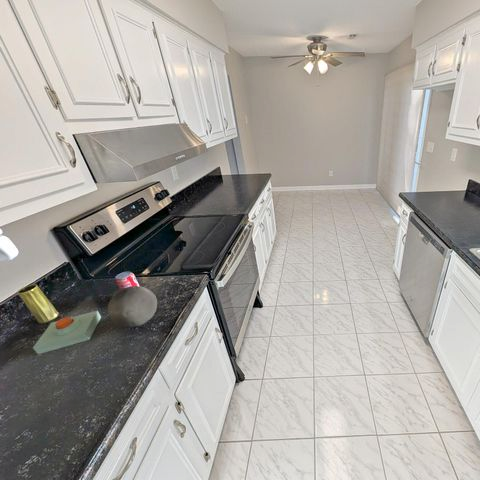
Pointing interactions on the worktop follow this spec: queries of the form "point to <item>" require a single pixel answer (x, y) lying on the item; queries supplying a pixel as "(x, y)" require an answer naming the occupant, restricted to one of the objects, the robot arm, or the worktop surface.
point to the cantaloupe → (132, 306)
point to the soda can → (126, 280)
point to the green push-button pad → (68, 333)
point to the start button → (63, 322)
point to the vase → (38, 303)
